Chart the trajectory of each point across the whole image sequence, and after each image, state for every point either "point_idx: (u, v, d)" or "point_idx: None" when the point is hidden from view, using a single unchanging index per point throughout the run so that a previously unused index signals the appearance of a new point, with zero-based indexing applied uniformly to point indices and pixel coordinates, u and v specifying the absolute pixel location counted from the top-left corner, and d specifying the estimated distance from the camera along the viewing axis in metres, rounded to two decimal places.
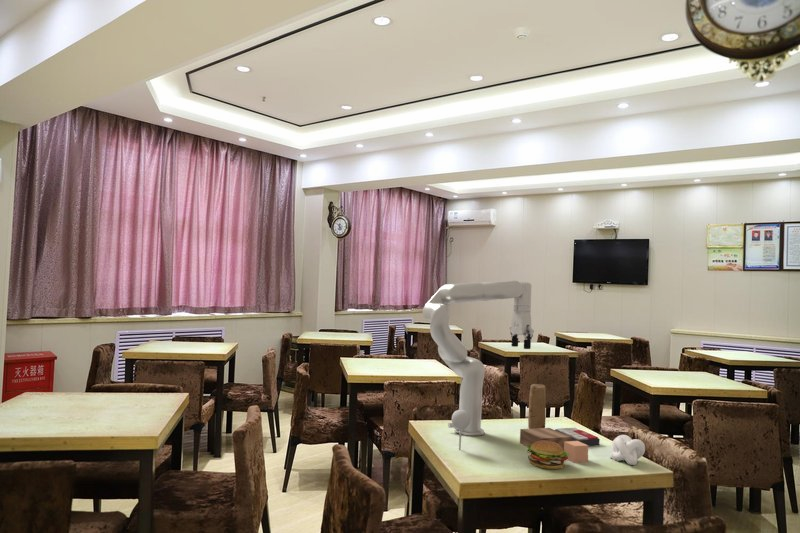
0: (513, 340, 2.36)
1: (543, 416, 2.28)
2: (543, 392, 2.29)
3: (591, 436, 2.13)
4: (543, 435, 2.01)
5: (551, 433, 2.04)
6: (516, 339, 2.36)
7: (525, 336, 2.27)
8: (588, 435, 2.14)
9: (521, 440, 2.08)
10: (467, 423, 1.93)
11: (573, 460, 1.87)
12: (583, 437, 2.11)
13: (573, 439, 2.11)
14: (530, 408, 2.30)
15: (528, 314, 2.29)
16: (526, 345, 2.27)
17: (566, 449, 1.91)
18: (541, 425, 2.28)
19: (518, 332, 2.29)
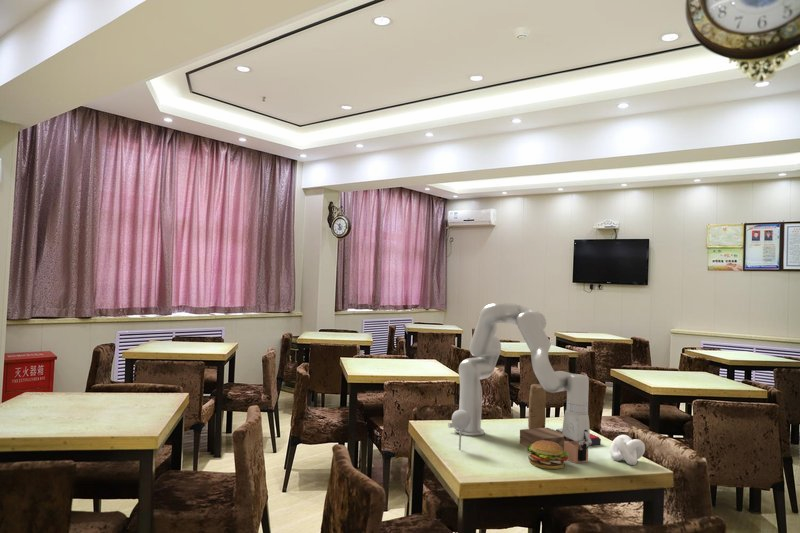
0: None
1: (543, 416, 2.28)
2: (543, 392, 2.29)
3: (592, 436, 2.13)
4: (544, 435, 2.00)
5: (551, 433, 2.05)
6: None
7: (580, 446, 1.86)
8: None
9: (521, 440, 2.07)
10: (467, 423, 1.93)
11: (573, 460, 1.87)
12: None
13: None
14: (530, 408, 2.30)
15: (586, 416, 1.87)
16: (581, 457, 1.86)
17: (566, 449, 1.91)
18: (541, 425, 2.28)
19: (573, 438, 1.88)
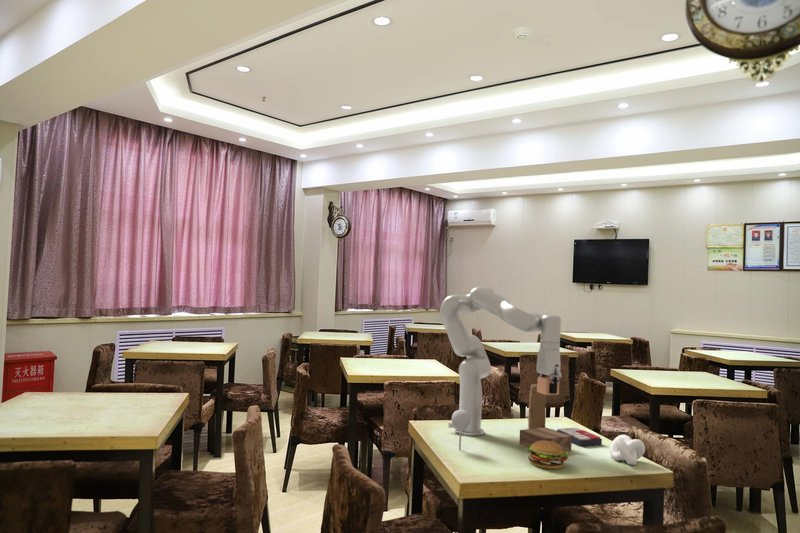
0: None
1: (543, 416, 2.28)
2: None
3: (593, 436, 2.13)
4: (545, 435, 2.00)
5: (551, 433, 2.05)
6: None
7: (551, 379, 2.01)
8: (590, 435, 2.14)
9: (521, 441, 2.06)
10: (467, 423, 1.93)
11: (545, 392, 2.02)
12: (585, 437, 2.11)
13: (575, 439, 2.11)
14: (530, 408, 2.30)
15: (557, 352, 2.02)
16: (552, 389, 2.01)
17: (539, 383, 2.06)
18: (541, 425, 2.28)
19: (545, 372, 2.03)
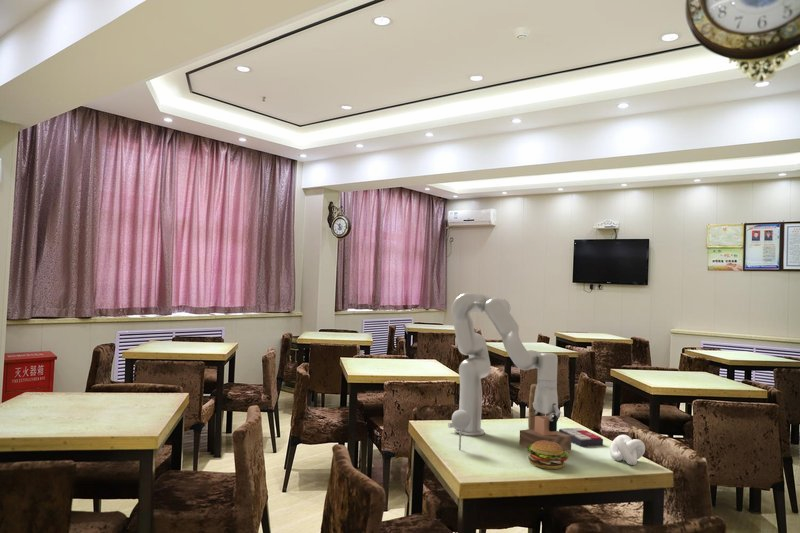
0: None
1: None
2: None
3: (594, 436, 2.13)
4: (546, 435, 2.00)
5: None
6: None
7: (551, 417, 2.00)
8: (592, 435, 2.14)
9: (521, 441, 2.06)
10: (467, 423, 1.93)
11: (542, 433, 2.01)
12: (586, 437, 2.11)
13: (576, 439, 2.11)
14: (530, 408, 2.30)
15: (554, 391, 2.02)
16: (552, 427, 2.00)
17: (536, 423, 2.05)
18: None
19: (543, 411, 2.02)
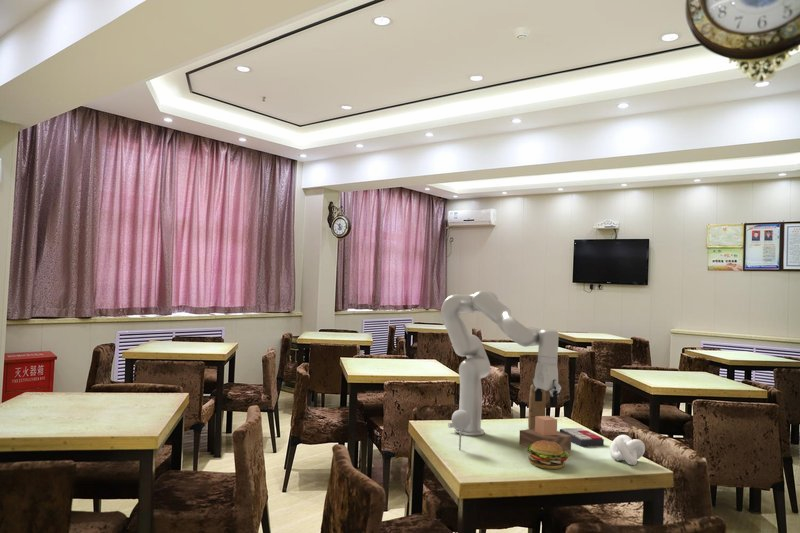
0: (537, 394, 2.10)
1: None
2: (543, 392, 2.29)
3: (595, 436, 2.12)
4: (545, 436, 2.00)
5: None
6: (540, 393, 2.10)
7: (551, 392, 2.00)
8: (592, 435, 2.14)
9: (521, 441, 2.06)
10: (467, 423, 1.93)
11: (543, 433, 2.01)
12: (587, 437, 2.11)
13: (576, 439, 2.11)
14: (530, 408, 2.30)
15: (555, 367, 2.02)
16: (552, 403, 2.00)
17: (537, 423, 2.05)
18: None
19: (543, 387, 2.03)
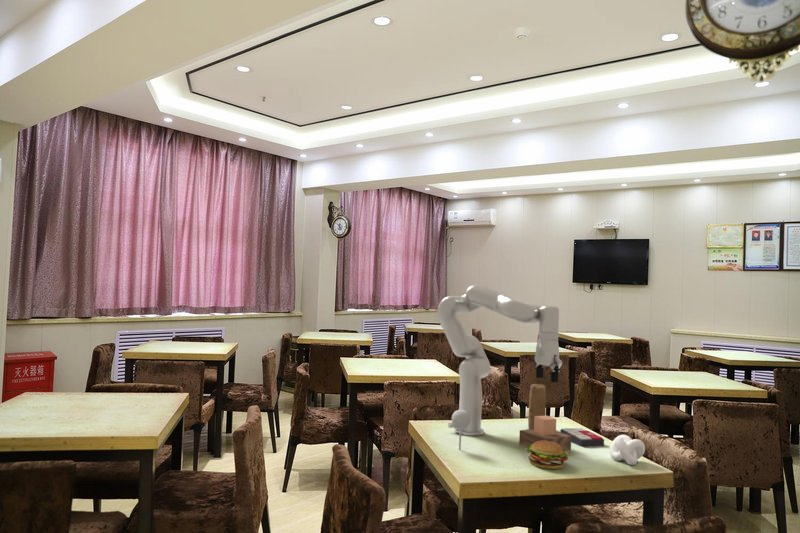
0: (538, 371, 2.10)
1: None
2: (543, 392, 2.29)
3: (595, 436, 2.12)
4: (545, 435, 2.00)
5: None
6: (541, 369, 2.11)
7: (552, 368, 2.01)
8: (593, 435, 2.14)
9: (521, 441, 2.06)
10: (467, 423, 1.93)
11: (542, 432, 2.02)
12: (587, 437, 2.11)
13: (577, 439, 2.11)
14: (530, 408, 2.30)
15: (556, 342, 2.03)
16: (553, 378, 2.01)
17: (536, 423, 2.06)
18: None
19: (544, 363, 2.04)
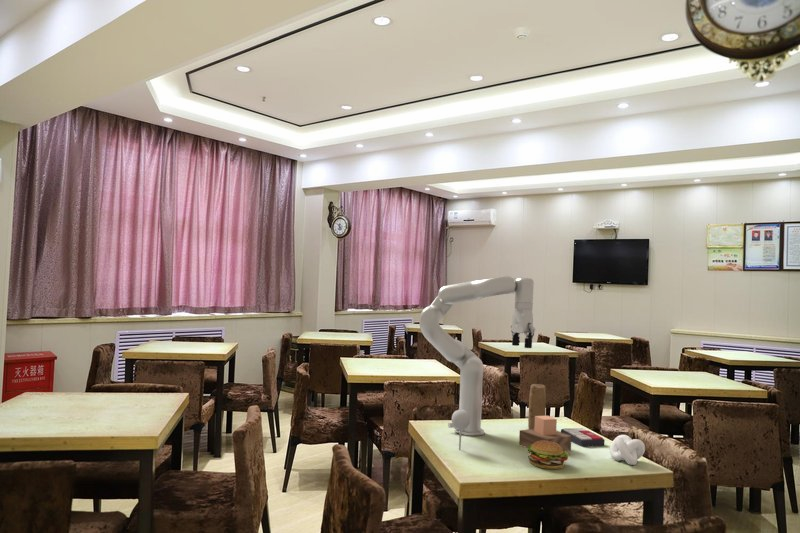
0: (514, 339, 2.25)
1: None
2: (543, 392, 2.29)
3: (596, 436, 2.12)
4: (545, 435, 2.00)
5: None
6: (517, 338, 2.25)
7: (526, 334, 2.15)
8: (593, 435, 2.14)
9: (521, 441, 2.06)
10: (467, 423, 1.93)
11: (542, 432, 2.02)
12: (587, 437, 2.11)
13: (577, 439, 2.11)
14: (530, 408, 2.30)
15: (530, 311, 2.17)
16: (527, 344, 2.15)
17: (536, 423, 2.06)
18: None
19: (519, 330, 2.18)
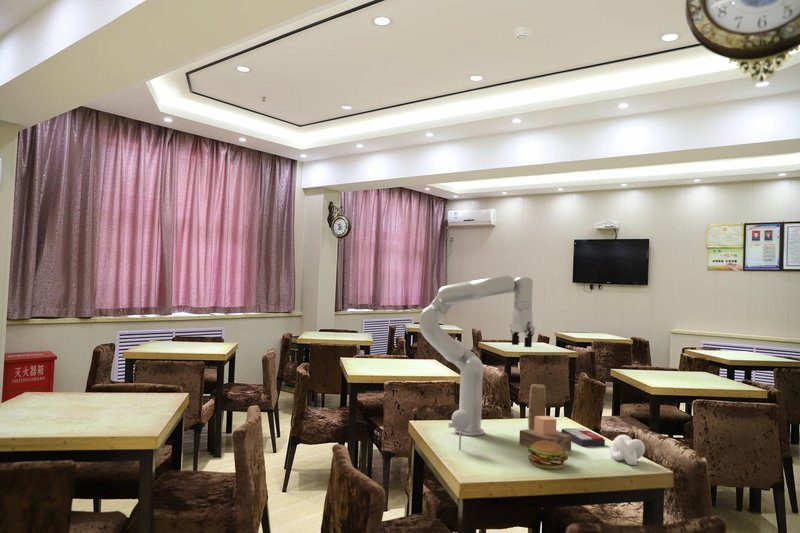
0: (513, 338, 2.25)
1: None
2: (543, 392, 2.29)
3: (596, 437, 2.12)
4: (546, 435, 2.00)
5: None
6: (517, 337, 2.26)
7: (526, 334, 2.16)
8: (593, 435, 2.13)
9: (521, 441, 2.06)
10: (467, 423, 1.93)
11: (542, 433, 2.01)
12: (587, 437, 2.11)
13: (577, 439, 2.11)
14: (530, 408, 2.30)
15: (529, 311, 2.18)
16: (527, 343, 2.16)
17: (536, 423, 2.05)
18: None
19: (519, 329, 2.19)
